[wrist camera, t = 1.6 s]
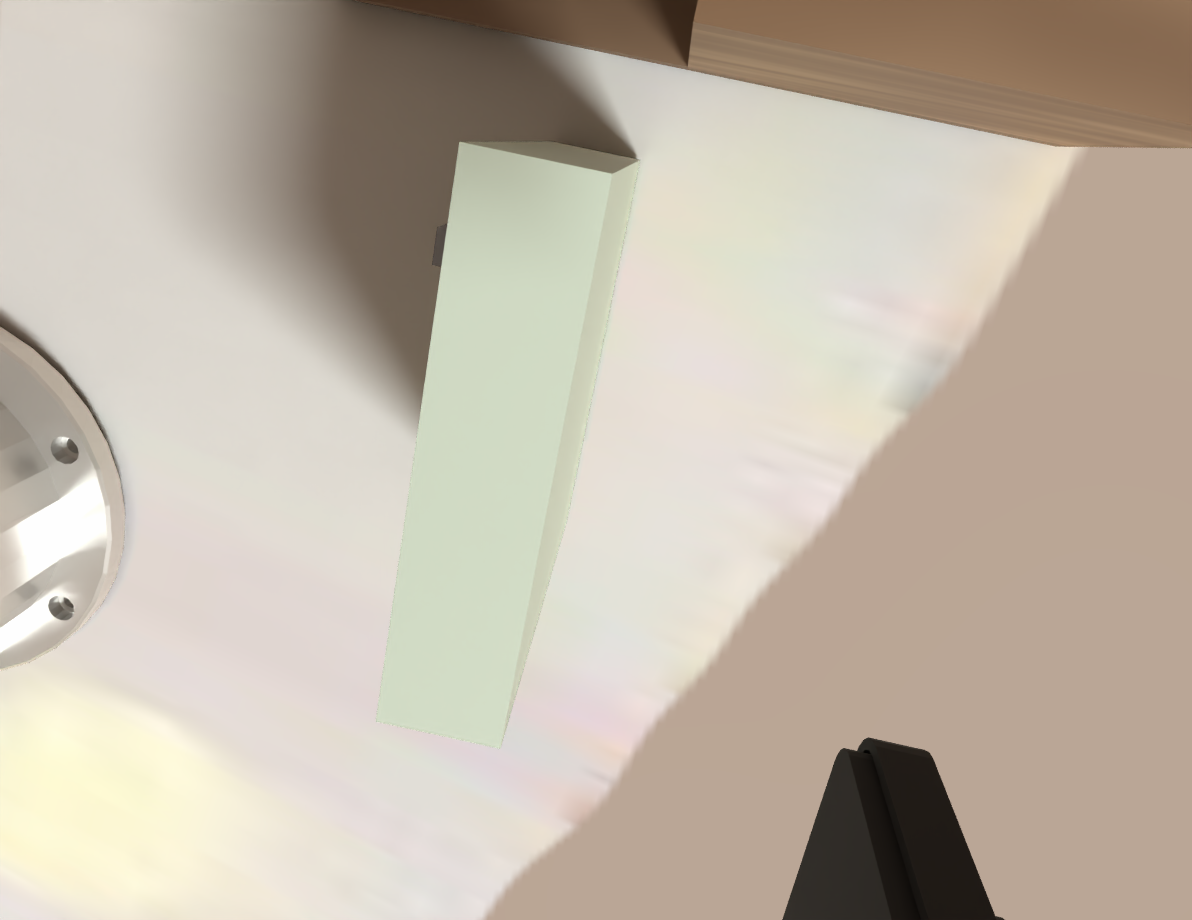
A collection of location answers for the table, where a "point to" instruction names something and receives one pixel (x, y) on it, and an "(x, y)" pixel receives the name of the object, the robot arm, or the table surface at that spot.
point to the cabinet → (906, 55)
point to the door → (500, 424)
